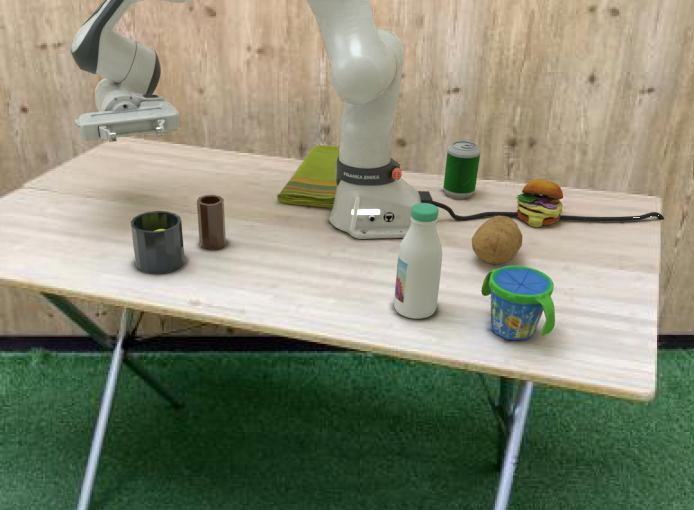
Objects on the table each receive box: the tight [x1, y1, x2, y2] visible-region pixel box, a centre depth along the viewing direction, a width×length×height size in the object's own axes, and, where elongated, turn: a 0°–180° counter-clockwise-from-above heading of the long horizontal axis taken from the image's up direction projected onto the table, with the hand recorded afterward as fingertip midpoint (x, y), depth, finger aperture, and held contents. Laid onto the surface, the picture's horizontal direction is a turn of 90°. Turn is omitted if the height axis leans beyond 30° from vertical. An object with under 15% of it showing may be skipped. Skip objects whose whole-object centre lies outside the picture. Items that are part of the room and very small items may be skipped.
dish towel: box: [276, 144, 339, 209], centre depth 193 cm, size 15×36×3 cm, turn 166°
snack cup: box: [480, 265, 556, 341], centre depth 135 cm, size 16×10×10 cm
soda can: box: [442, 140, 481, 200], centre depth 184 cm, size 8×8×12 cm
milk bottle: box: [393, 203, 443, 320], centre depth 138 cm, size 8×8×20 cm
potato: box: [471, 215, 523, 265], centre depth 158 cm, size 10×14×8 cm
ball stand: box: [196, 194, 227, 251], centre depth 161 cm, size 5×5×10 cm
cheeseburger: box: [515, 178, 564, 228], centre depth 175 cm, size 10×11×10 cm
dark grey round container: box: [130, 210, 186, 275], centre depth 155 cm, size 10×10×9 cm
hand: (136, 135), depth 154 cm, fingers open, 8 cm apart
